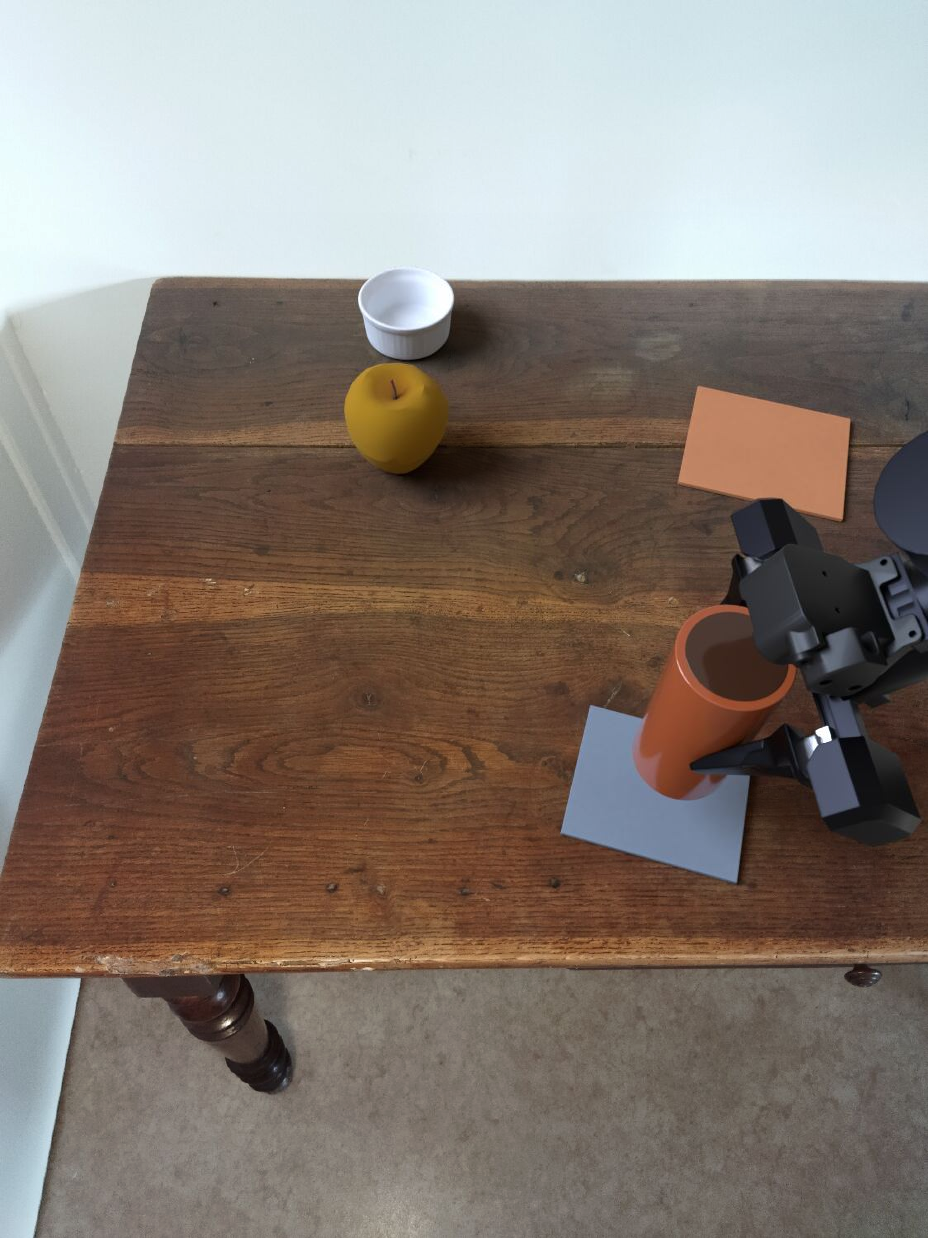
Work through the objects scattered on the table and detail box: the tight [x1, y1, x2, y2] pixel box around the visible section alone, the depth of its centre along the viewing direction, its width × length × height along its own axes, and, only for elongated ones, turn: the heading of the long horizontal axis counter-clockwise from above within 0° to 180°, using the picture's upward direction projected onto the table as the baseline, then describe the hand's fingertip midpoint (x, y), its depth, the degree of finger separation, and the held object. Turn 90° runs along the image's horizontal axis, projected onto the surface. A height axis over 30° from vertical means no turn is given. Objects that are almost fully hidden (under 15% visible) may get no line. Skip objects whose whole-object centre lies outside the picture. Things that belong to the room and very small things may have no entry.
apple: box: [343, 362, 450, 475], centre depth 74 cm, size 8×8×9 cm
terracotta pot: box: [632, 604, 798, 801], centre depth 51 cm, size 6×6×14 cm
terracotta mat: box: [677, 385, 851, 523], centre depth 78 cm, size 14×12×1 cm
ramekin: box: [357, 266, 455, 361], centre depth 84 cm, size 9×9×4 cm
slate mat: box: [560, 704, 751, 885], centre depth 62 cm, size 12×10×1 cm
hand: (680, 716), depth 51 cm, fingers closed on terracotta pot, 6 cm apart
